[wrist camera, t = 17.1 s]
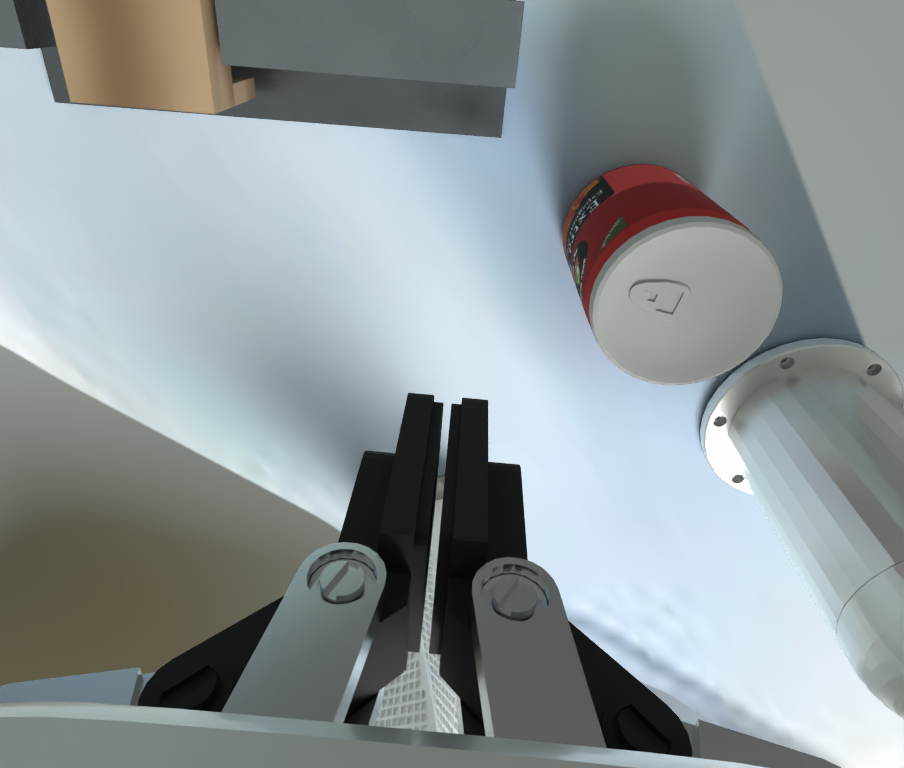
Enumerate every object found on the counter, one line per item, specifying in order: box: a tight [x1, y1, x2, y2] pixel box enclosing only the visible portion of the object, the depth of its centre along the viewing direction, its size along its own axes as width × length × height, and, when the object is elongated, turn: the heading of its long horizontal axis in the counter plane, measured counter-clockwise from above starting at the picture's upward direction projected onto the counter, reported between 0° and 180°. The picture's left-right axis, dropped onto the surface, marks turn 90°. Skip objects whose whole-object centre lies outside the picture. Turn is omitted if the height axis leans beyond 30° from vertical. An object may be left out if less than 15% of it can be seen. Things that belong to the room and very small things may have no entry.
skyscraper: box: [374, 476, 459, 734], centre depth 36 cm, size 8×8×28 cm
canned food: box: [563, 165, 783, 385], centre depth 30 cm, size 8×8×11 cm
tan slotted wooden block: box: [46, 0, 256, 114], centre depth 26 cm, size 6×6×6 cm
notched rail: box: [0, 0, 524, 138], centre depth 27 cm, size 24×9×7 cm, turn 86°
